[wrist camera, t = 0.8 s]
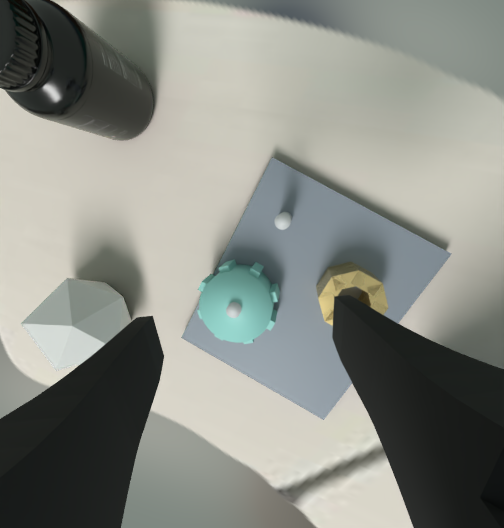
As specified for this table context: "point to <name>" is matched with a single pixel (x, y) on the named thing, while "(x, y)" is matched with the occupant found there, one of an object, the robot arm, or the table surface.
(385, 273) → the gear board
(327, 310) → the yellow faceted ring
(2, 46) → the supplement bottle
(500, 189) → the table surface
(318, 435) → the table surface
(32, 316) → the die
